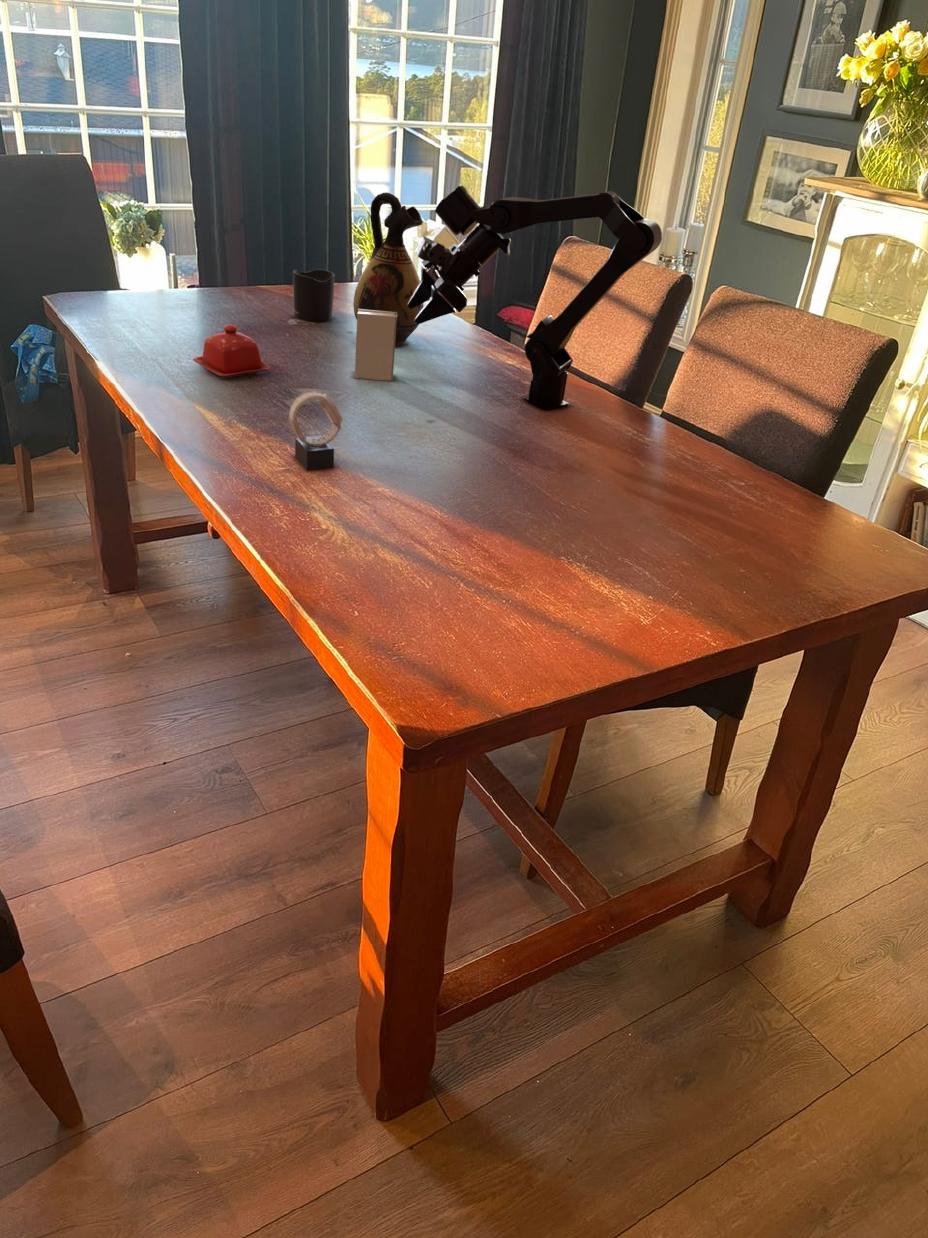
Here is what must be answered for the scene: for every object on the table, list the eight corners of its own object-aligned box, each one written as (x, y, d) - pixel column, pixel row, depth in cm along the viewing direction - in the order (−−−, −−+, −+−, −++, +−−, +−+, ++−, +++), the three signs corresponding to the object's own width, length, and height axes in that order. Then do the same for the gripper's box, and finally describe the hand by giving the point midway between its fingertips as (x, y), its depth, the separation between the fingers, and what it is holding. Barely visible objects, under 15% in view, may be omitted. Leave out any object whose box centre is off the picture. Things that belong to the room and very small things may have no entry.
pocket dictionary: (392, 375, 188) (396, 312, 182) (392, 380, 185) (396, 316, 179) (355, 372, 187) (357, 308, 181) (354, 377, 184) (357, 313, 178)
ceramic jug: (434, 342, 212) (447, 199, 196) (394, 355, 200) (404, 203, 185) (374, 325, 219) (381, 186, 203) (332, 336, 207) (336, 189, 192)
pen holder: (299, 309, 224) (299, 266, 219) (337, 315, 223) (339, 271, 218) (287, 319, 216) (287, 273, 211) (327, 324, 215) (328, 279, 210)
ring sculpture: (345, 466, 146) (348, 398, 141) (295, 471, 143) (296, 401, 137) (332, 453, 150) (334, 386, 145) (284, 457, 147) (284, 388, 141)
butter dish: (219, 382, 174) (218, 336, 169) (190, 364, 181) (187, 319, 176) (273, 375, 181) (273, 330, 176) (243, 358, 188) (242, 314, 183)
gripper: (434, 210, 178) (376, 270, 182) (452, 234, 163) (388, 299, 167) (472, 253, 184) (415, 310, 188) (493, 280, 169) (431, 342, 173)
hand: (412, 314), depth 179 cm, fingers open, 9 cm apart
